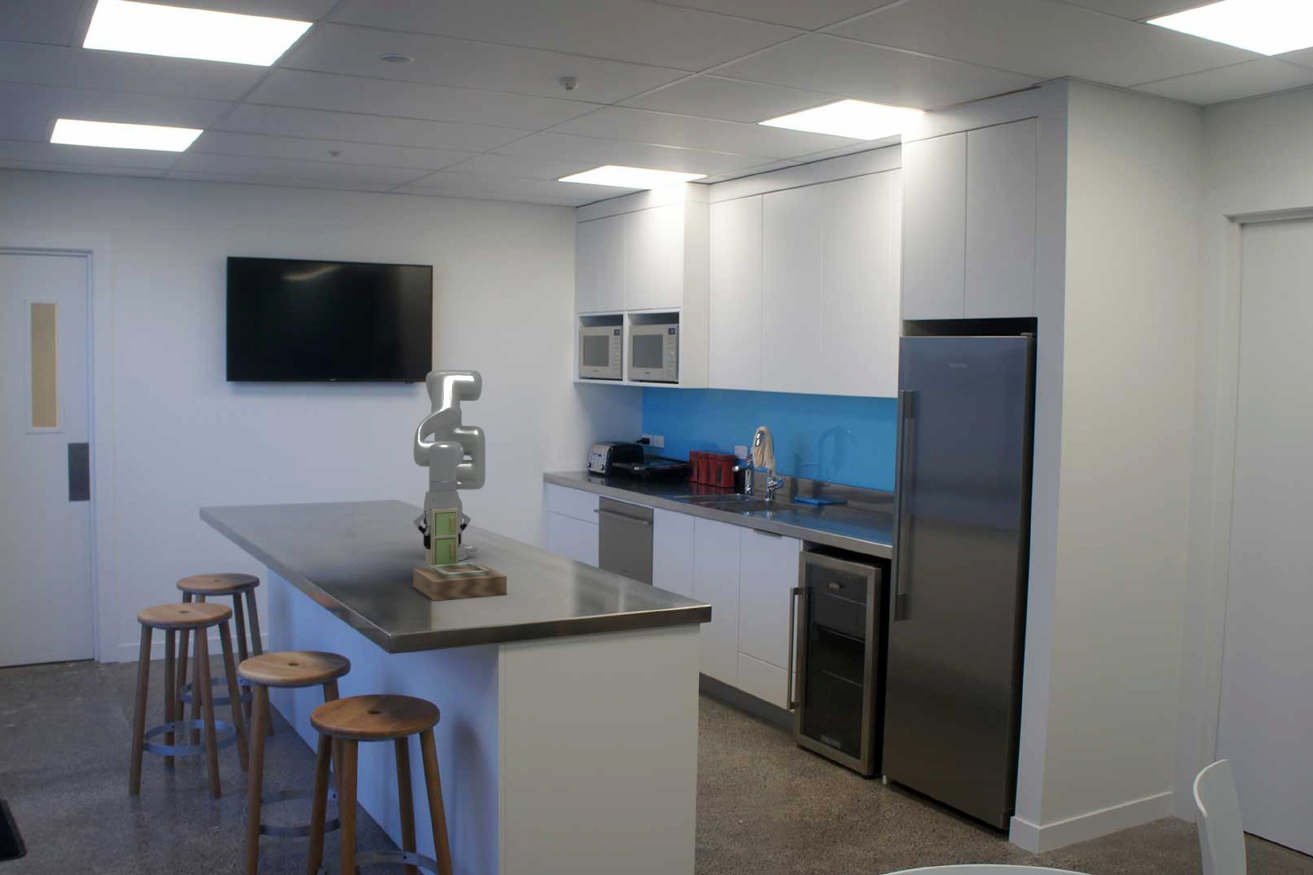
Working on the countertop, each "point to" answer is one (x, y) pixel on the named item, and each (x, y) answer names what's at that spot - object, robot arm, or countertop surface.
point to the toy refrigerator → (443, 537)
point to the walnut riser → (459, 581)
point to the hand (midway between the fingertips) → (442, 547)
